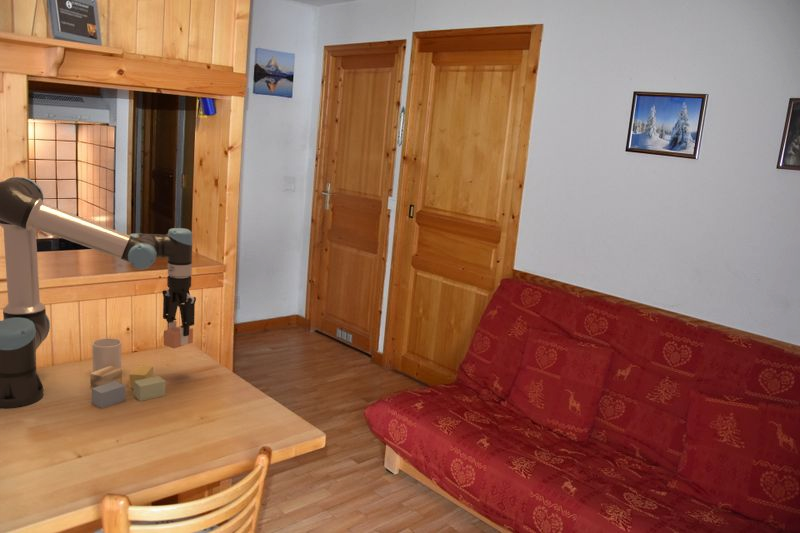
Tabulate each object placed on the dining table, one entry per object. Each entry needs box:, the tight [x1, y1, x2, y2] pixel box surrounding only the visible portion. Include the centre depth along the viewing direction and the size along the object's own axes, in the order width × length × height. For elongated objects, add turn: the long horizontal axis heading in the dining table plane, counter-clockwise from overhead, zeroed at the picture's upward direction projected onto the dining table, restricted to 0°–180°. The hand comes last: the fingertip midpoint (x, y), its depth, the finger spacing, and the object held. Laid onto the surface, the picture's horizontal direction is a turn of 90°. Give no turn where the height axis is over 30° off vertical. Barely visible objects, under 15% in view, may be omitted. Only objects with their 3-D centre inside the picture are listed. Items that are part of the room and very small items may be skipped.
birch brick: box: [89, 366, 123, 389], centre depth 211 cm, size 5×8×5 cm, turn 158°
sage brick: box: [133, 375, 166, 402], centre depth 207 cm, size 5×8×5 cm, turn 134°
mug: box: [91, 337, 123, 373], centre depth 221 cm, size 12×9×11 cm
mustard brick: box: [128, 364, 154, 390], centre depth 214 cm, size 5×8×5 cm, turn 3°
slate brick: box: [91, 381, 126, 409], centre depth 200 cm, size 5×8×5 cm, turn 147°
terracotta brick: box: [163, 325, 194, 349], centre depth 220 cm, size 5×8×5 cm, turn 151°
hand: (177, 342), depth 220 cm, fingers closed on terracotta brick, 5 cm apart
